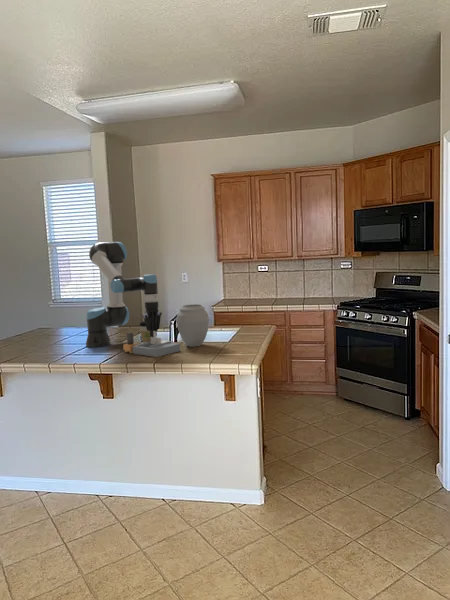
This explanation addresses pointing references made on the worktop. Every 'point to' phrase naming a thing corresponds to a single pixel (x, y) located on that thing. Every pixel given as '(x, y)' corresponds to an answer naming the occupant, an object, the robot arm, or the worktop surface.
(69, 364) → the worktop surface
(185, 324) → the vase
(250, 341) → the worktop surface
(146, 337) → the coffee cup
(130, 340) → the plug
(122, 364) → the worktop surface
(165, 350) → the socket plate
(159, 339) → the shutter
